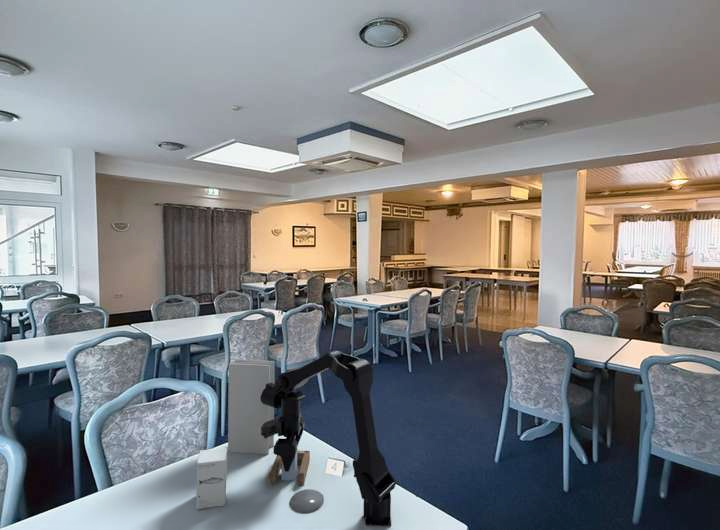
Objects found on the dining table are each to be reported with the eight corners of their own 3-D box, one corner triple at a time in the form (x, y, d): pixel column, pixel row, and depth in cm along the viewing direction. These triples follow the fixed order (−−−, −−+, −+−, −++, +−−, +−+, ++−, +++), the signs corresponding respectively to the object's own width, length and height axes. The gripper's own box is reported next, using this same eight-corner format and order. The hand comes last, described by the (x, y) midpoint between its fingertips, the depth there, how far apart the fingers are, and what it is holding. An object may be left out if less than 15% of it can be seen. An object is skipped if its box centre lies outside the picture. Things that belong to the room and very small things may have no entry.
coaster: (325, 491, 111) (325, 489, 111) (322, 512, 102) (322, 510, 102) (293, 491, 111) (293, 489, 111) (287, 512, 102) (287, 509, 102)
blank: (297, 472, 121) (297, 447, 120) (294, 480, 117) (295, 453, 116) (284, 472, 121) (284, 446, 120) (281, 479, 117) (281, 453, 116)
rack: (309, 461, 127) (309, 450, 127) (303, 485, 114) (304, 473, 114) (278, 460, 127) (278, 450, 127) (269, 484, 114) (269, 472, 114)
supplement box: (195, 510, 102) (195, 463, 102) (199, 493, 109) (199, 449, 109) (225, 506, 104) (225, 459, 104) (227, 490, 111) (227, 446, 111)
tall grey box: (273, 446, 137) (274, 361, 136) (268, 454, 131) (269, 365, 130) (234, 443, 138) (235, 359, 137) (228, 451, 132) (228, 363, 132)
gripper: (270, 399, 127) (270, 447, 128) (255, 425, 109) (255, 480, 109) (304, 400, 127) (304, 447, 128) (295, 425, 109) (294, 480, 109)
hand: (289, 462), depth 118 cm, fingers open, 9 cm apart
